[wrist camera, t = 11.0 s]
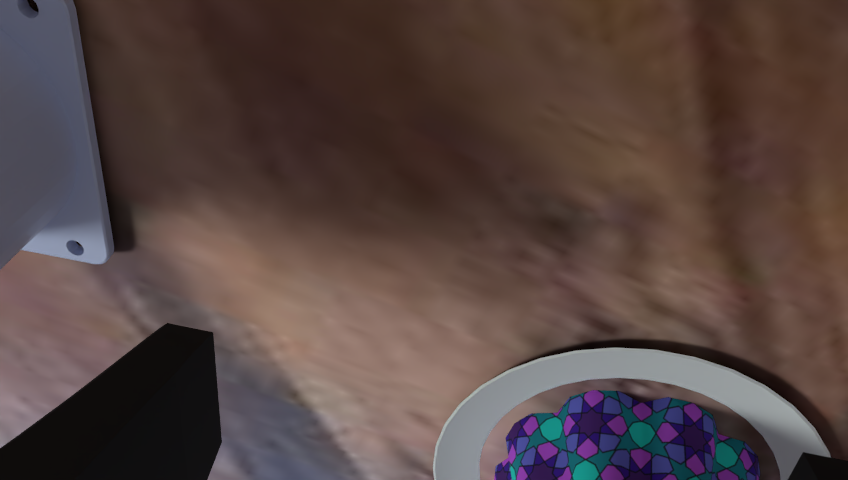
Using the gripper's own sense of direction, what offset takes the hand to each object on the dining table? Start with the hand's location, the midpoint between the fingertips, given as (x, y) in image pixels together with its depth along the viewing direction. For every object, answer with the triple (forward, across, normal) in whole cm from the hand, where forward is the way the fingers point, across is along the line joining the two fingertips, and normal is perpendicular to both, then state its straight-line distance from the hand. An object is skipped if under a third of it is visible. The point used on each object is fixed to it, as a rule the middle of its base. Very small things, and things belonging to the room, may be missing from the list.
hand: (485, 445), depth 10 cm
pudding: (+11, -5, +12) cm, 17 cm away
